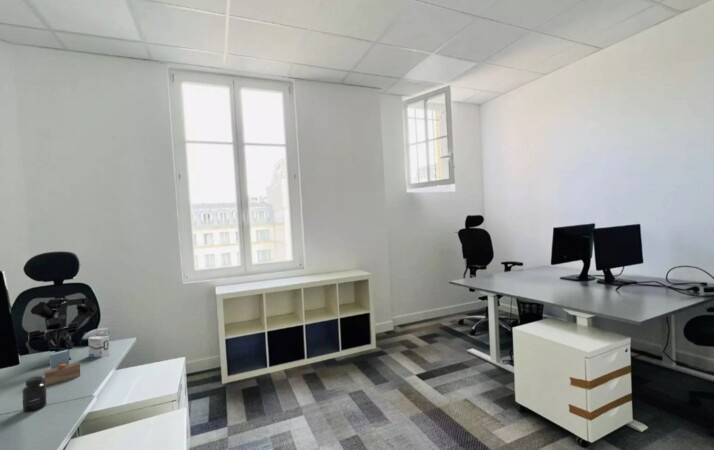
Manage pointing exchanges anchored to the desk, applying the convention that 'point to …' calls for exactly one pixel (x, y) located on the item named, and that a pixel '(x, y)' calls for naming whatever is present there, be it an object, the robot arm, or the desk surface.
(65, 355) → the blue white block
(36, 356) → the desk surface
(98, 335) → the ink box
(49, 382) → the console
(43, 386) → the supplement bottle
